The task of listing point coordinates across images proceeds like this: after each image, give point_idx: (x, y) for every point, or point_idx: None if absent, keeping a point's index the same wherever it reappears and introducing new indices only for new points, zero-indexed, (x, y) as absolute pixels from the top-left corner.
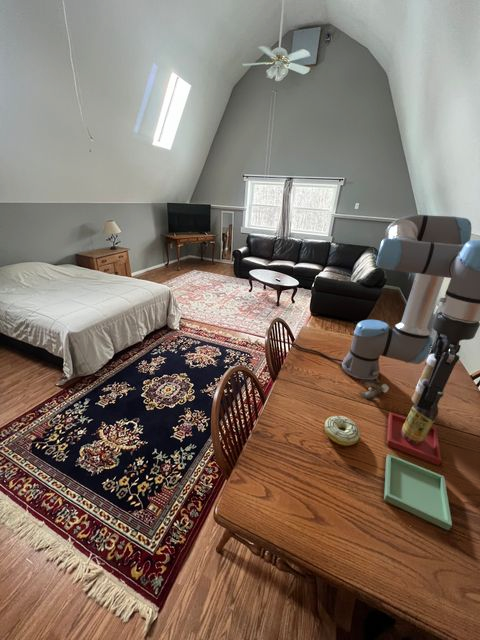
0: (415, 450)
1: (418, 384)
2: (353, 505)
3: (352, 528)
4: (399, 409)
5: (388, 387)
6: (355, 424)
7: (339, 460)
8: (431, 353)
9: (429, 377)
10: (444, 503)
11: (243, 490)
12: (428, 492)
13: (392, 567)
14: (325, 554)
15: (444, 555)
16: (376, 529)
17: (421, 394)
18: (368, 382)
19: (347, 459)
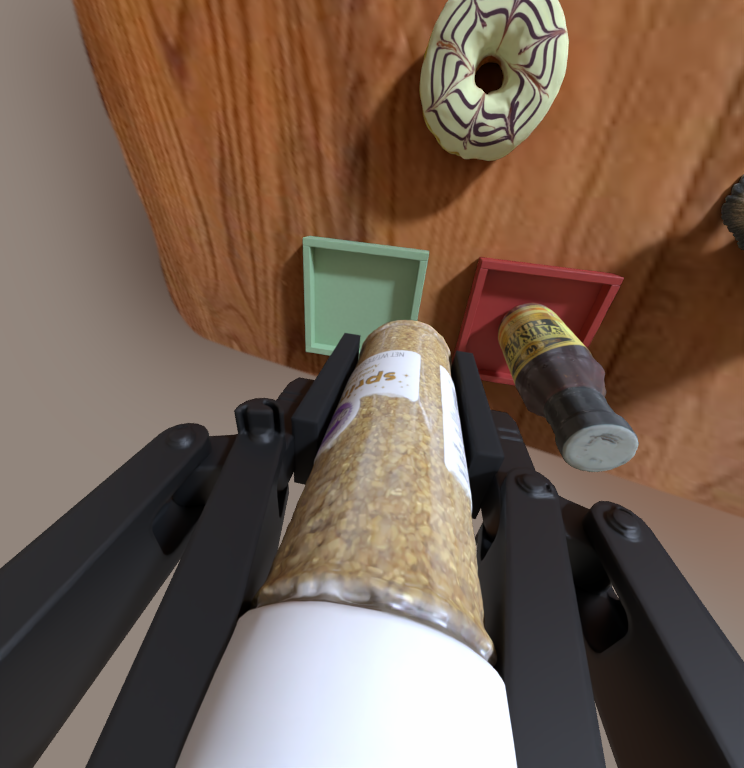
0: (465, 326)
1: (390, 374)
2: (259, 159)
3: (210, 160)
4: (657, 315)
5: None
6: (524, 134)
7: (369, 98)
8: (718, 763)
9: (270, 481)
10: None
11: None
12: (366, 330)
13: (197, 241)
14: (127, 99)
15: (267, 328)
16: (240, 215)
17: (332, 369)
18: None
19: (383, 128)
